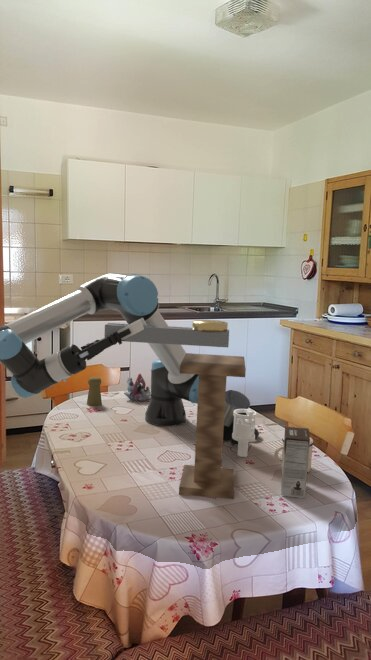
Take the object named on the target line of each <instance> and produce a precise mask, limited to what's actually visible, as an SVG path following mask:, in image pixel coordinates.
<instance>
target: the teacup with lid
mask: <svg viewBox="0 0 371 660" xmlns="http://www.w3.org/2000/svg"><path fill="white" fill-rule="evenodd" d="M281 441H282V445H279V446H277V448H275V450H274V459H275V461H277V462H278V463H280V467H281V468H282V461H283V448H284V435H283V436H282V439H281ZM314 444H315V443H314V440H313V438H312V437H310V446H309V458H308V469H307V472H308V473H310V471H311V469H312V459H313V458H312V457H313V448H314V447H313V446H314ZM280 451H281V458H280V459H279V452H280Z"/></svg>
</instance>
